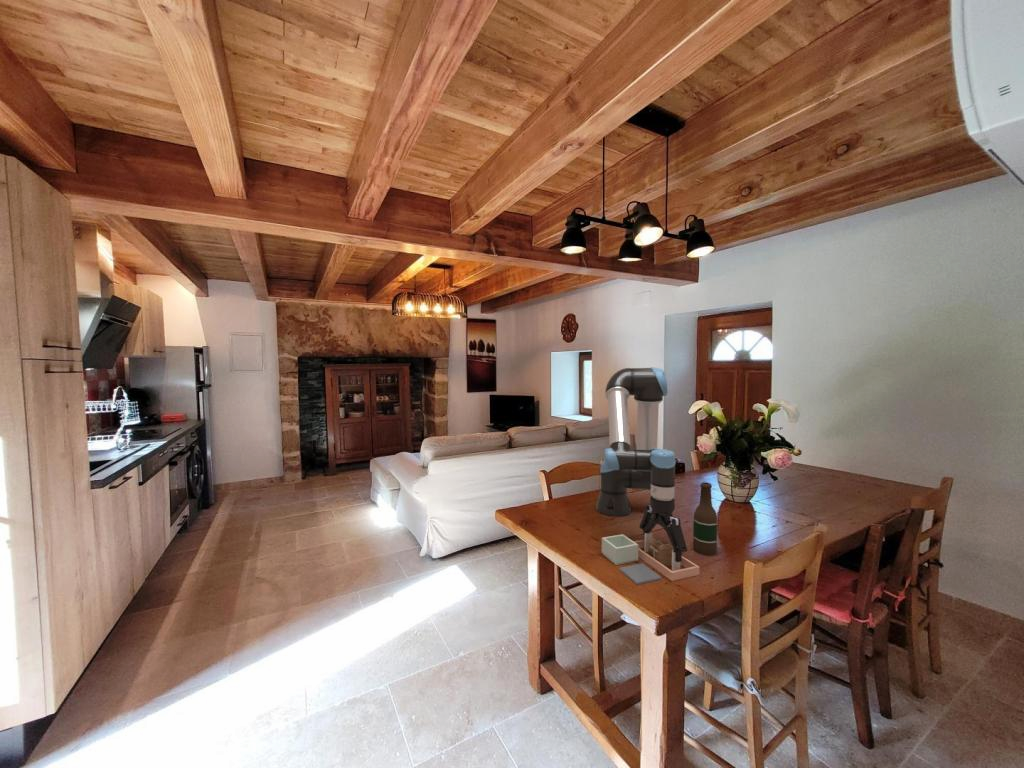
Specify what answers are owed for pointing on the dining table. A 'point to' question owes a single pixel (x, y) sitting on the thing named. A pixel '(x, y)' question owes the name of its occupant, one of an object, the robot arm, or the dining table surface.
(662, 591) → the dining table surface
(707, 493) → the beer bottle
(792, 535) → the dining table surface
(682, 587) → the dining table surface
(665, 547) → the letter cube
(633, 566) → the slate coaster
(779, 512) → the dining table surface
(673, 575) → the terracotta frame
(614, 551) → the mint green open box
